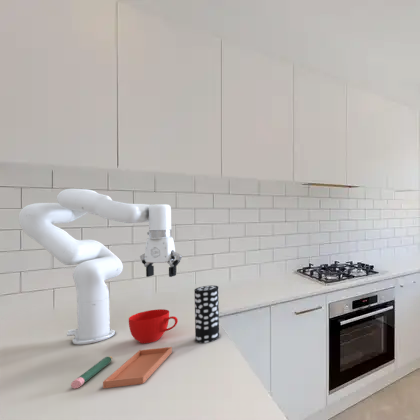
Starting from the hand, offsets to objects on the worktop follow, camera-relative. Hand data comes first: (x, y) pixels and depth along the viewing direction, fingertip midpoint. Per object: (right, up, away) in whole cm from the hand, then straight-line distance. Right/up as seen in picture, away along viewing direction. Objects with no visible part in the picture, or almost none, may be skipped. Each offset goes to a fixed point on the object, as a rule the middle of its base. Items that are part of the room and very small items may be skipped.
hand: (161, 276), depth 126 cm
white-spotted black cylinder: (+21, -24, -4) cm, 32 cm away
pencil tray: (+12, -24, -26) cm, 38 cm away
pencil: (-1, -25, -29) cm, 38 cm away
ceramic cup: (+1, -24, -4) cm, 25 cm away
